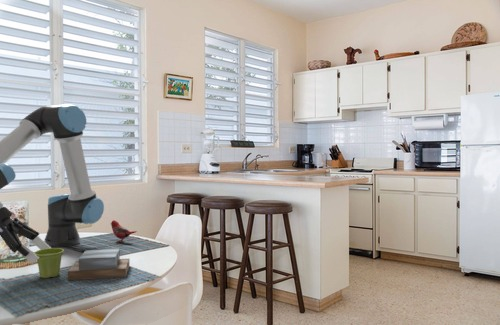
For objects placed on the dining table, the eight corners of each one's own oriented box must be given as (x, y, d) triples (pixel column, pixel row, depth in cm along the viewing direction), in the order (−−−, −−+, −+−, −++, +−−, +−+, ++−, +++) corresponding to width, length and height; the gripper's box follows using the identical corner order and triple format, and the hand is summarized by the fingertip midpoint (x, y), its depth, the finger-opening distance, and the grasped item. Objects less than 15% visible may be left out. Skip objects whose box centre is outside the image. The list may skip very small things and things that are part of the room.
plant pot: (53, 280, 138) (52, 255, 138) (28, 278, 140) (27, 253, 139) (69, 272, 147) (69, 248, 147) (46, 270, 149) (46, 247, 149)
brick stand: (76, 268, 151) (76, 250, 151) (129, 266, 155) (129, 248, 155) (67, 280, 139) (67, 259, 138) (125, 276, 142) (125, 257, 142)
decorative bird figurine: (113, 239, 200) (112, 219, 199) (139, 244, 191) (139, 222, 190) (108, 240, 197) (108, 220, 197) (134, 245, 188) (134, 223, 188)
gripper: (1, 215, 151) (45, 254, 154) (-32, 228, 126) (21, 274, 129) (16, 201, 151) (60, 239, 155) (-14, 211, 127) (38, 257, 130)
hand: (42, 255), depth 142 cm, fingers open, 13 cm apart
